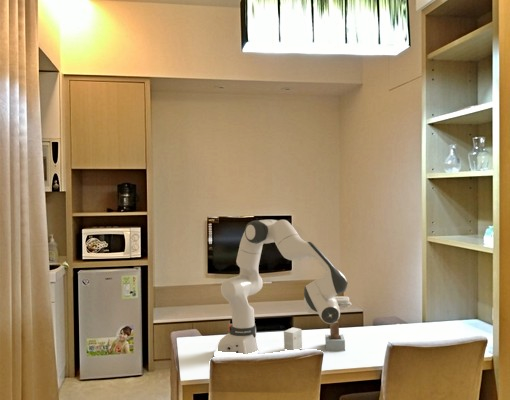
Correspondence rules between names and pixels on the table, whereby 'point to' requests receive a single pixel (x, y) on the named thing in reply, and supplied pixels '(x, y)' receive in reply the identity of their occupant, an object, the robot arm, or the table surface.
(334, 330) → the peg
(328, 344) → the post socket
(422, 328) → the table surface
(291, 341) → the small box
